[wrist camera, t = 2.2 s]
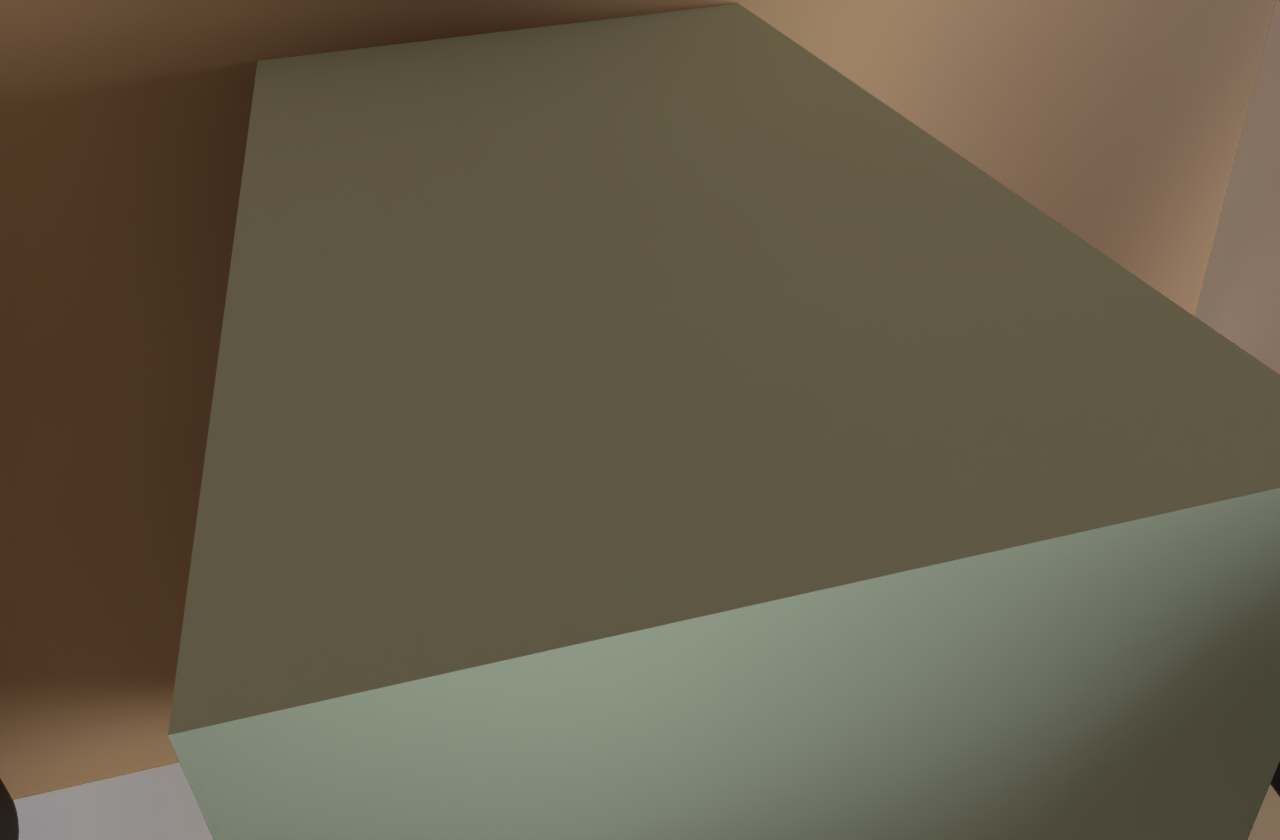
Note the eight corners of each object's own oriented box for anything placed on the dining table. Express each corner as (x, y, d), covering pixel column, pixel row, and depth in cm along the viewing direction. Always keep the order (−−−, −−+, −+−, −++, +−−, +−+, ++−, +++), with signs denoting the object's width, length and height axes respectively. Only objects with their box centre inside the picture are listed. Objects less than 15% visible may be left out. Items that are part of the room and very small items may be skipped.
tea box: (744, 604, 13) (1073, 1274, 8) (407, 678, 13) (493, 1481, 7) (743, 3, 9) (1417, 458, 4) (256, 60, 9) (166, 735, 3)
